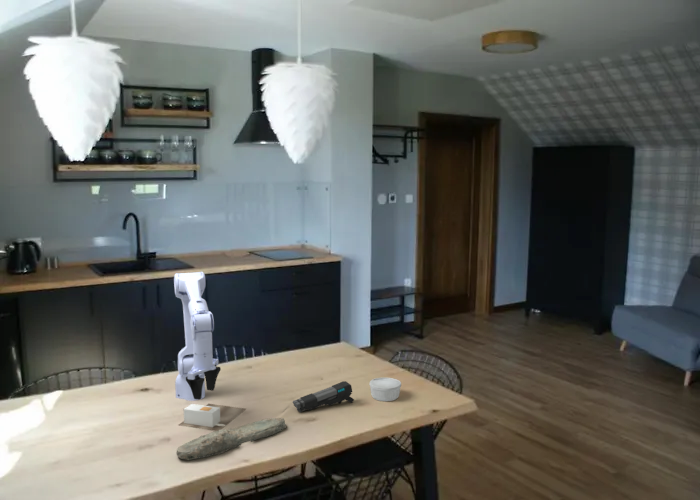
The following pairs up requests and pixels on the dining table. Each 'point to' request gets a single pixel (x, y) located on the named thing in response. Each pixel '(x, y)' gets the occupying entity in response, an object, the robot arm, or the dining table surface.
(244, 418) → the dining table surface
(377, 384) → the ramekin
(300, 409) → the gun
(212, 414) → the block
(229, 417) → the subfloor panel
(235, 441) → the long grey stone
